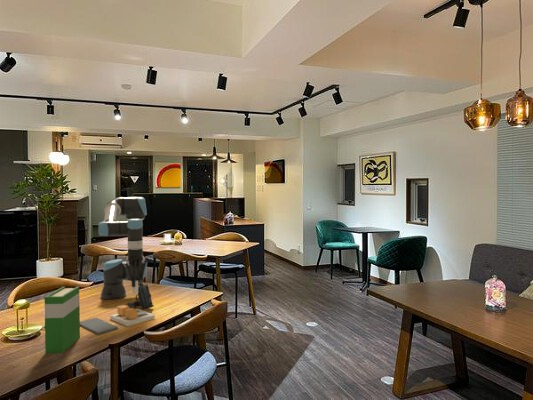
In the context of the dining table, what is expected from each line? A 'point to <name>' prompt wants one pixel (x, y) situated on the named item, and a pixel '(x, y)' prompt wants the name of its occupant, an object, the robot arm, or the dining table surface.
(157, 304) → the dining table surface
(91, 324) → the mat
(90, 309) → the dining table surface
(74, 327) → the hardback book
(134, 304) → the gun
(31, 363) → the dining table surface
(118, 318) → the light grey tray
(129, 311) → the orange block
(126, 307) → the orange wooden block
